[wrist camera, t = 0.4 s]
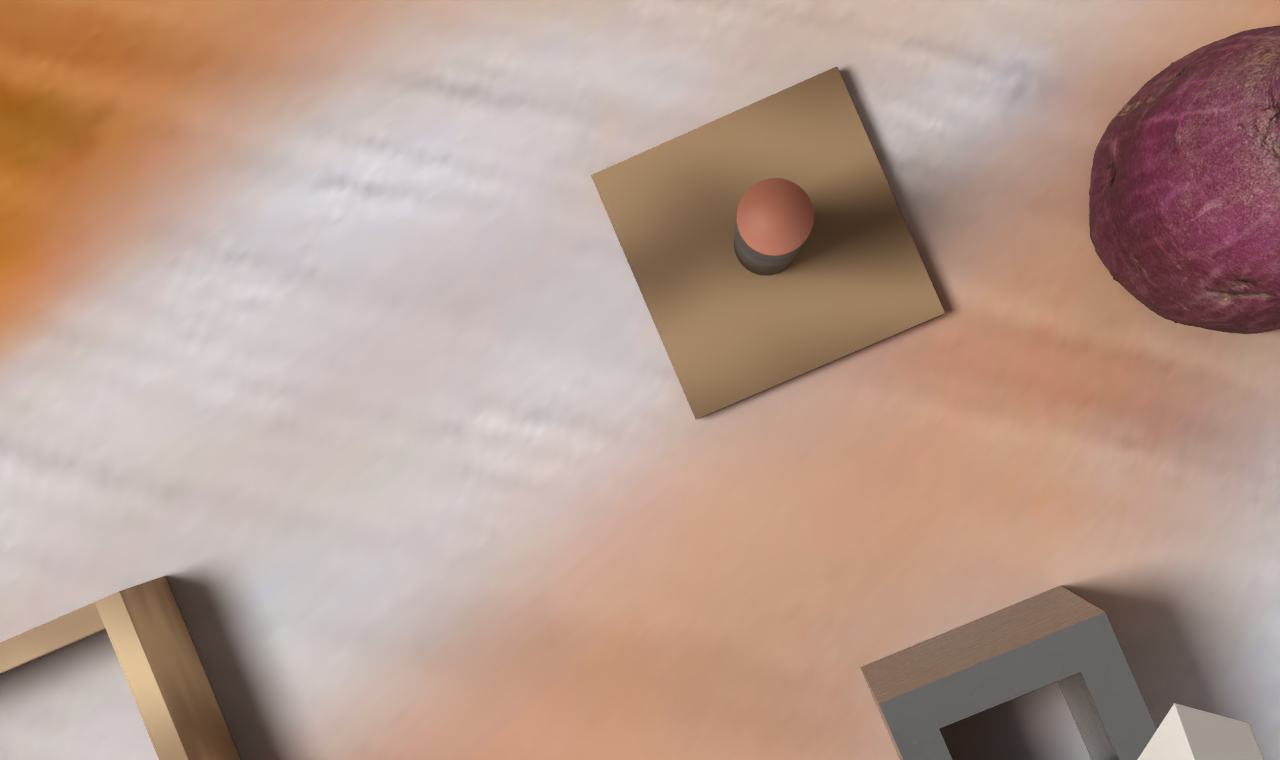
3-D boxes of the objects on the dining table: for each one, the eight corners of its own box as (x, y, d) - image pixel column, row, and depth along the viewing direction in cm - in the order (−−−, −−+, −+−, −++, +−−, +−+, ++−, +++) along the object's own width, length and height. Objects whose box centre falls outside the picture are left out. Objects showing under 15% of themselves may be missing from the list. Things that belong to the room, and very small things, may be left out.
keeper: (941, 313, 44) (988, 299, 36) (696, 419, 44) (691, 425, 37) (835, 70, 44) (859, 4, 36) (592, 177, 44) (567, 135, 37)
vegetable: (1046, 128, 47) (1089, -100, 32) (1322, 53, 44) (1498, -225, 30) (1121, 377, 44) (1205, 247, 30) (1420, 309, 42) (1664, 135, 28)
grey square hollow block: (1148, 785, 43) (1204, 838, 38) (946, 865, 43) (975, 928, 38) (1060, 585, 43) (1105, 611, 38) (860, 667, 44) (879, 704, 39)
